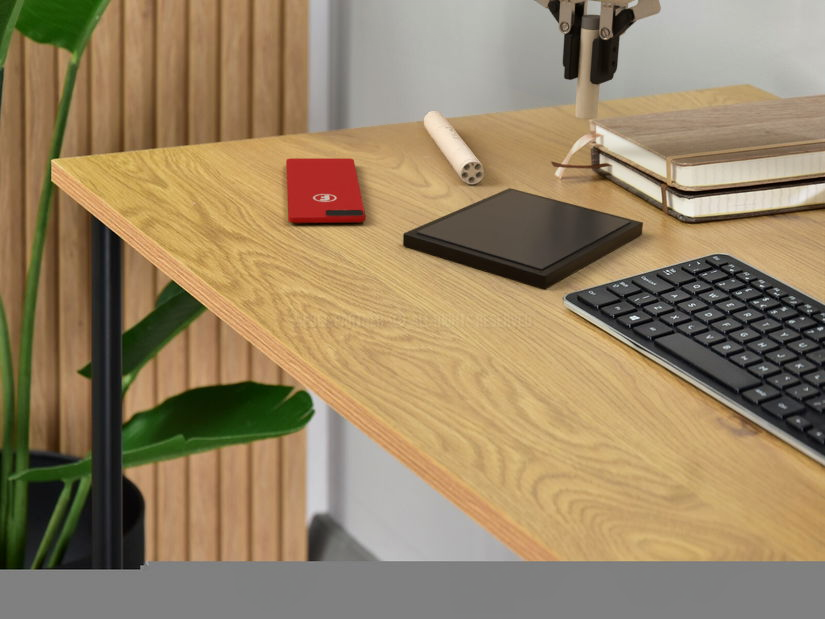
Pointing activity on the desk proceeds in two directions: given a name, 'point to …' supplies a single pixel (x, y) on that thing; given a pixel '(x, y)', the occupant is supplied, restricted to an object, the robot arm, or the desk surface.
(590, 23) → the stylus
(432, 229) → the tablet
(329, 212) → the electronic device
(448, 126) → the cream cylinder
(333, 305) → the desk surface
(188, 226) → the desk surface
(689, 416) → the desk surface
